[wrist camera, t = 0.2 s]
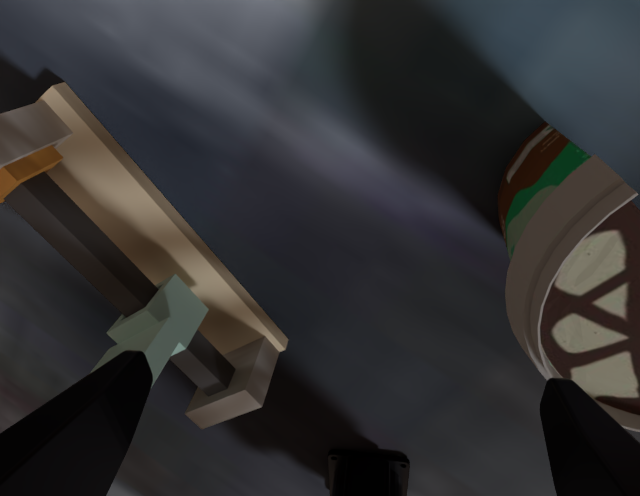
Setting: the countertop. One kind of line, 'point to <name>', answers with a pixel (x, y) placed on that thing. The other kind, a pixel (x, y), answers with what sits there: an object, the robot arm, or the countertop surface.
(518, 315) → the food container
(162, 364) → the grey-green notched block
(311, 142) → the countertop surface
